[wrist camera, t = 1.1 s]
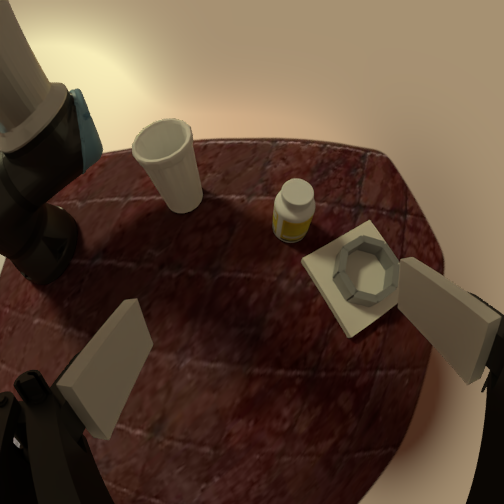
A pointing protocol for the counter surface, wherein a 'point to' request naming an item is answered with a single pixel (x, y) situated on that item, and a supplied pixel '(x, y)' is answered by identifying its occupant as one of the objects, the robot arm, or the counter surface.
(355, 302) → the holder
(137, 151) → the cup
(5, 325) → the counter surface
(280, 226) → the supplement bottle
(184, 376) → the counter surface
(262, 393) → the counter surface
